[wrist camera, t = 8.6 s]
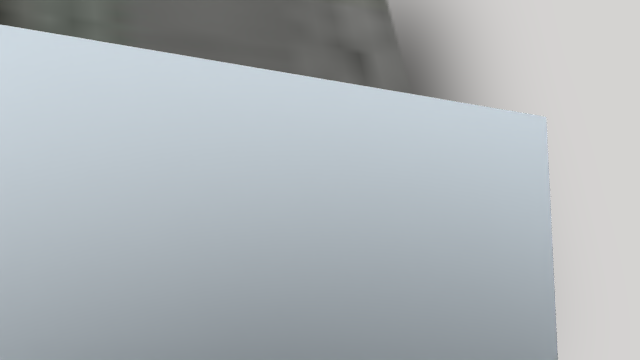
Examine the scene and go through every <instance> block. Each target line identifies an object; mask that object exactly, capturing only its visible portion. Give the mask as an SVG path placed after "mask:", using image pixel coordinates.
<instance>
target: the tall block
mask: <svg viewBox="0 0 640 360" xmlns="http://www.w3.org/2000/svg"><path fill="white" fill-rule="evenodd" d="M550 205H551V204H550V183H549V162H548V140H547V120H546V117H544V116H538V115H532V114H526V113H520V112H515V111H509V110H503V109H497V108H491V107H485V106H479V105H473V104H467V103H461V102H455V101H449V100H443V99H437V98H432V97H426V96H420V95H413V94H408V93H402V92H396V91H390V90H384V89H378V88H372V87H367V86H361V85H355V84H349V83H343V82H337V81H331V80H325V79H319V78H313V77H307V76H301V75H295V74H290V73H284V72H278V71H272V70H266V69H260V68H254V67H248V66H242V65H236V64H230V63H224V62H218V61H213V60H207V59H201V58H195V57H189V56H183V55H177V54H171V53H165V52H159V51H153V50H147V49H141V48H136V47H130V46H124V45H118V44H112V43H106V42H100V41H94V40H88V39H82V38H76V37H70V36H65V35H59V34H53V33H47V32H41V31H35V30H29V29H23V28H17V27H11V26H5V25H0V360H558V353H557V332H556V313H555V311H556V310H555V290H554V268H553V247H552V225H551V206H550Z"/></svg>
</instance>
